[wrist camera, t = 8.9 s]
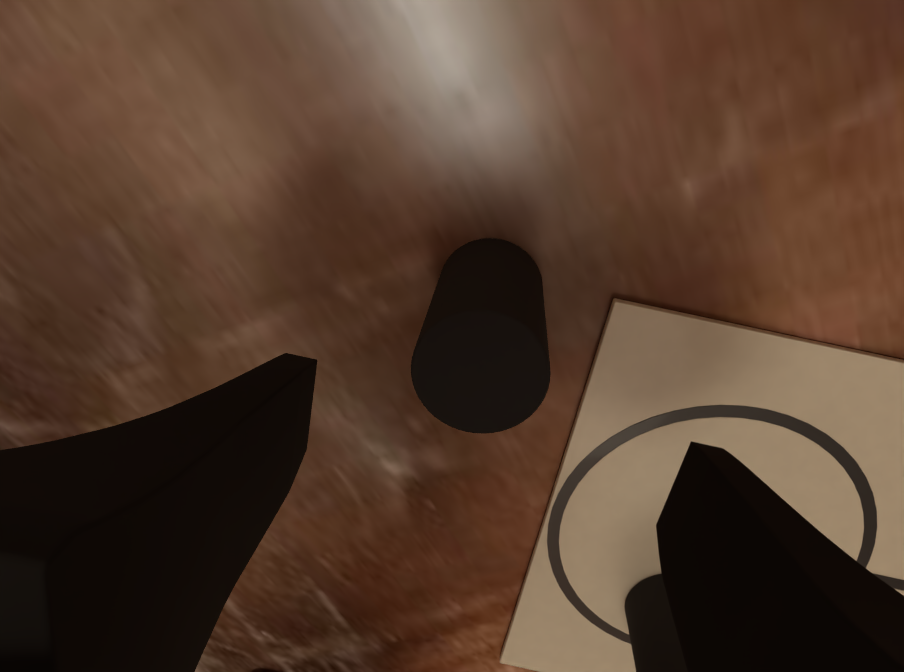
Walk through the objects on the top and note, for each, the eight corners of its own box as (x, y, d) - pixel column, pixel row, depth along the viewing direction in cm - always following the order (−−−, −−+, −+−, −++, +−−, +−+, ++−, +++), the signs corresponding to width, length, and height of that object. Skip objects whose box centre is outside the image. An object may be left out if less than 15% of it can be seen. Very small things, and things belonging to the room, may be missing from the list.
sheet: (859, 735, 25) (864, 744, 25) (499, 656, 25) (499, 664, 25) (1094, 399, 19) (1104, 406, 18) (613, 297, 19) (615, 301, 18)
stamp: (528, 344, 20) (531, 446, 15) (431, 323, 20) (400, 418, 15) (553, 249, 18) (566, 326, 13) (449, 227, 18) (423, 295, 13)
